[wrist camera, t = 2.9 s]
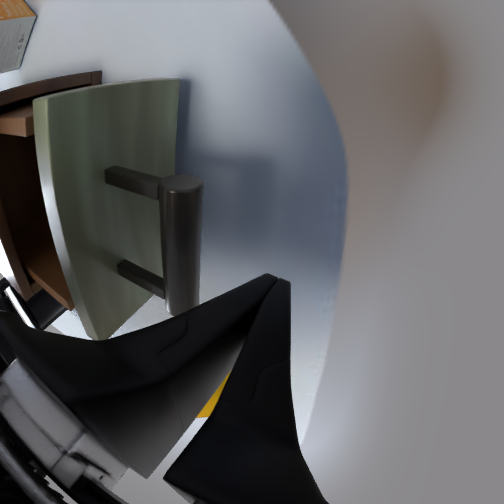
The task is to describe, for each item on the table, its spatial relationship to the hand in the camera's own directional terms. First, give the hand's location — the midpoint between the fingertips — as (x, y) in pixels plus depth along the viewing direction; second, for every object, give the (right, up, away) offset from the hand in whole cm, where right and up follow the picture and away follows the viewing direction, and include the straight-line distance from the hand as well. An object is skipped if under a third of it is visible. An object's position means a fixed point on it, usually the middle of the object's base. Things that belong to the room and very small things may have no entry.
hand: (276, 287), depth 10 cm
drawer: (-9, +6, +6) cm, 12 cm away
